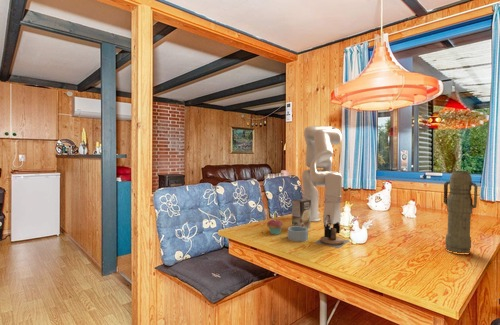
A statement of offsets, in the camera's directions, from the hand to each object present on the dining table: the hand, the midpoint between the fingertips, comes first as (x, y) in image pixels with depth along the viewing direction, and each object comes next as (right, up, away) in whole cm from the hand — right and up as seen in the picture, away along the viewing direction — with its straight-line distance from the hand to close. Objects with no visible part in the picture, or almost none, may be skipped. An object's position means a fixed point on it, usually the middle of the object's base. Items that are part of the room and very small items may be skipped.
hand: (332, 235), depth 136 cm
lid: (0, -3, 0) cm, 3 cm away
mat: (0, -4, 0) cm, 4 cm away
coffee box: (-10, -3, +24) cm, 26 cm away
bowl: (-15, -3, +5) cm, 17 cm away
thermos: (+51, -5, -11) cm, 53 cm away
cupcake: (-26, -3, +14) cm, 30 cm away
